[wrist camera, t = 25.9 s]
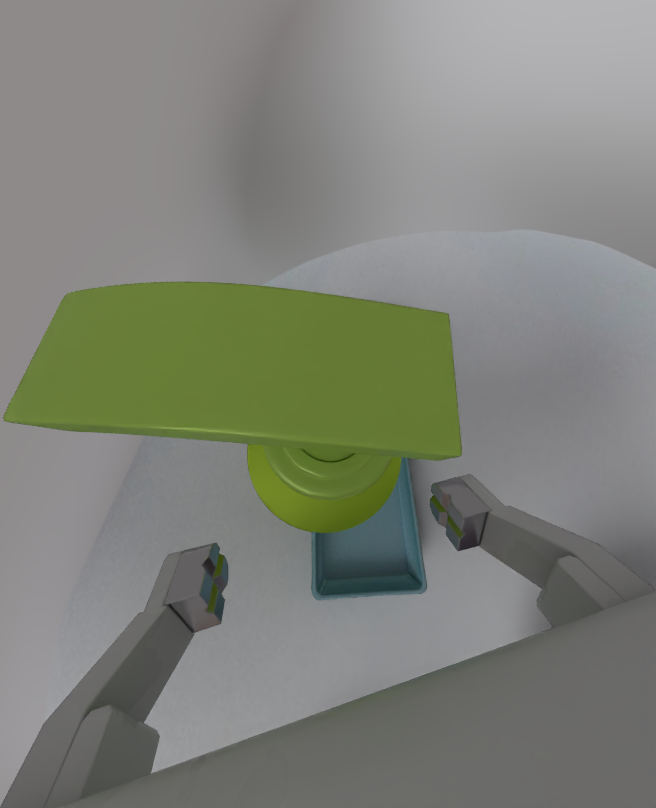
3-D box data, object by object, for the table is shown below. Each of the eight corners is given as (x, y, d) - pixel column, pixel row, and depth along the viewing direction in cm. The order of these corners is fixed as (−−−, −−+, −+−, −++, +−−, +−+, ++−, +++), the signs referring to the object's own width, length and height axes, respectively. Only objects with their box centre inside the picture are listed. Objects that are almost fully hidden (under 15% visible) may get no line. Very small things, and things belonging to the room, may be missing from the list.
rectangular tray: (308, 327, 29) (307, 313, 27) (384, 327, 30) (390, 313, 27) (312, 588, 21) (311, 601, 19) (416, 582, 22) (428, 594, 19)
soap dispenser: (280, 432, 23) (85, 157, 4) (355, 438, 23) (548, 204, 4) (270, 500, 21) (-223, 672, 2) (352, 506, 21) (703, 733, 2)
